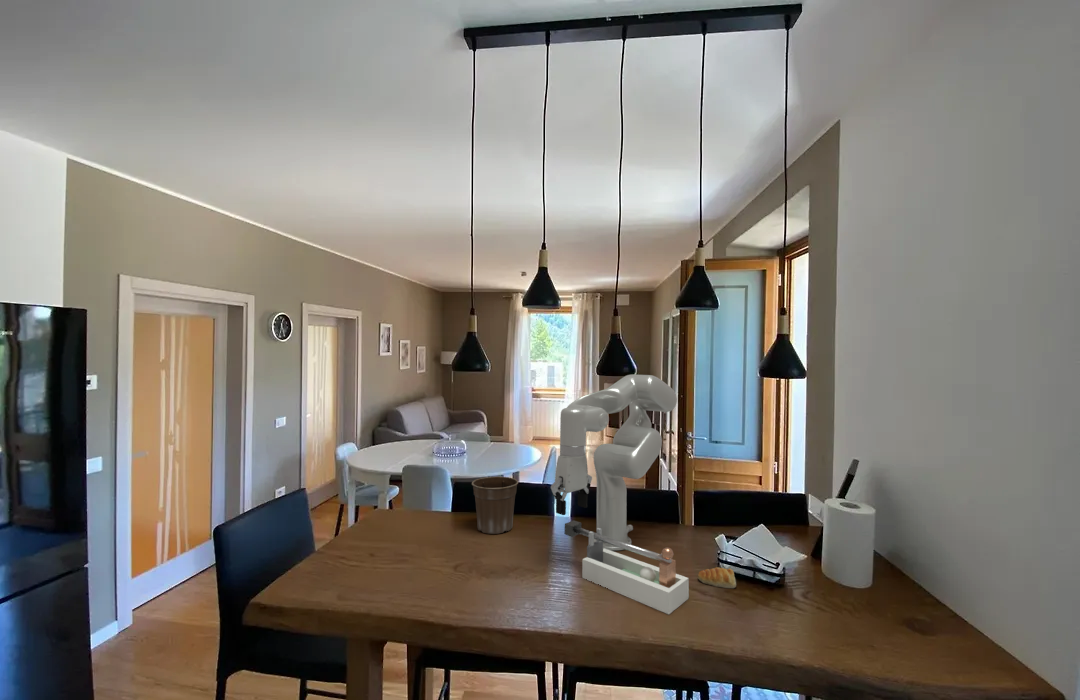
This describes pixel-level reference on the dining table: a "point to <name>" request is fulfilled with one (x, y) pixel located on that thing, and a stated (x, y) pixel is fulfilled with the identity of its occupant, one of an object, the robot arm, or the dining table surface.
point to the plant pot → (494, 503)
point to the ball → (648, 574)
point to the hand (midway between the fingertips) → (571, 510)
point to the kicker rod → (665, 567)
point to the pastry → (718, 577)
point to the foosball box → (631, 578)
